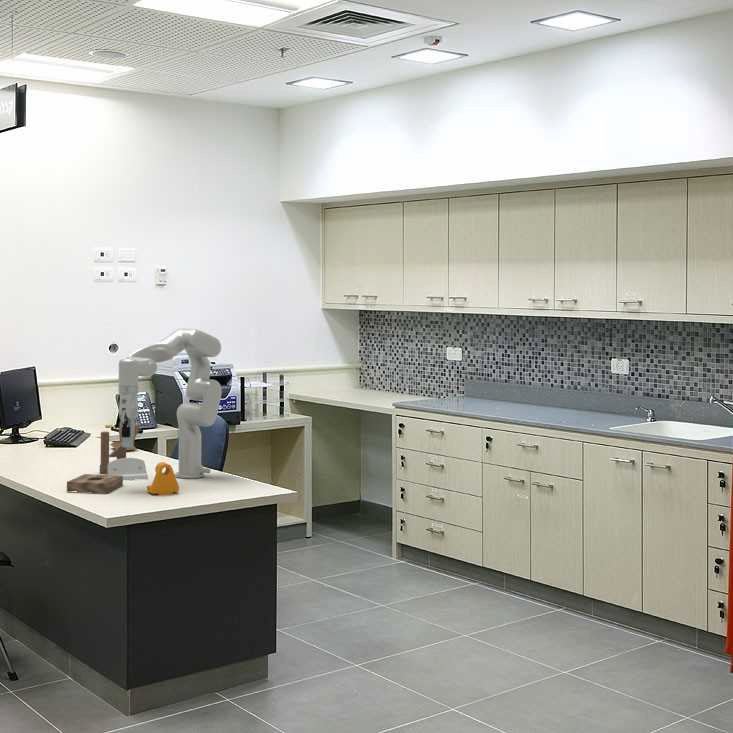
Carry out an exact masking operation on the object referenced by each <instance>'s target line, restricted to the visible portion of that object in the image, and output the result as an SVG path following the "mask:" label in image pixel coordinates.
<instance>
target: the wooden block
mask: <svg viewBox="0 0 733 733" xmlns="http://www.w3.org/2000/svg"><path fill="white" fill-rule="evenodd" d="M110 458H116V459H121V458H127V451H126V447H122V443H121V444H120V445H119V446H118V447H117V448H114V450H112V452H111V453H110V432H109V431H106V430H105V431H101V432H100V464H99V474H100V475H107V466H108V463H109V462H110Z"/></svg>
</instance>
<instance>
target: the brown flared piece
mask: <svg viewBox="0 0 733 733" xmlns="http://www.w3.org/2000/svg"><path fill="white" fill-rule="evenodd" d="M139 429H140V423H139V422H137V421H135V429H134V435H135V436H134V437H133V447H131V448H130V447H126V452H127V451H128V452H129V451H130V452H131V451H134V450H136V449H137V448H136V446H135V439H136V438H137V435H138V433H139V431H140V430H139ZM118 435H119V441H114V442H111V443H109V446H111V447H113V448H114V449H116V448H117V447H118V446H119V445H120V444H121V443H122V437H121V421H119V426H118Z"/></svg>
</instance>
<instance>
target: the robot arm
mask: <svg viewBox="0 0 733 733" xmlns="http://www.w3.org/2000/svg"><path fill="white" fill-rule="evenodd" d="M184 350H185V353H186V354H187V356H188V358H189V360H190V370H189V371H190V372H189V376H188V380H187V384H186V388H185V395H186V397H187V398H188V399H189V400H192V401H199V402H202V403H199V402H184V403H181V404H180V405H179V406H178V408H177V409H176V418H177V419H176V420H177V423H178V471H177V472H174V474H175V477H176V478H178V477H179V479H200V477H201V478H203V477H205V475H206V474H211V472H212V470H211V468H209V467H208V468H207V467H204V465H203V464H202V431H201V430H200V429H201V428H200V427H211V426H213V425H214V423H215V421H216V419H217V415H218V411H219V408H220V403H221V400H222V391H223V390H222V386H221V384H220V382H219V381H218V380H216V379H210V375H211V370H212V368H211V364H210V362H209V359H208V358H215V357H217V356H218V355H219V354H220V353H221V350H222V344H221V341H220V340H219V339H218V338H217V337H216V336H213V335H211V334H209V333H206V332H205V331H202V330H199V329H197V328H196V329H195V328H178V329H176V330H174V331H172V332H171V333H169V335H167V336H166V337H164V338H163V339H161V340H159V341H158V342H157V343H153V344H151V345H147V346H145V347H142V348H139V349H137V350H136V351H134V352H132V353H131V354H129V355H128V356H127V357H126V358H122V359H119V361H118V395H119V404H118V405H119V408H118V411H119V412H118V413H119V414H118V416H119V419H120V422H122V437H130V427H129V422H130V420H132V419H137V418H138V417H139V401H138V399H139V398H138V394H139V377H144V378H145V377H146V378H148V377H152V376H154V375H155V374H156V372H157V370H158V365H157V363H164V362H168V361H170V360H172V359H173V358H175V357H176V356H177V355H179V354H180V353H182V352H183V351H184ZM125 418H128V419H125Z"/></svg>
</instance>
